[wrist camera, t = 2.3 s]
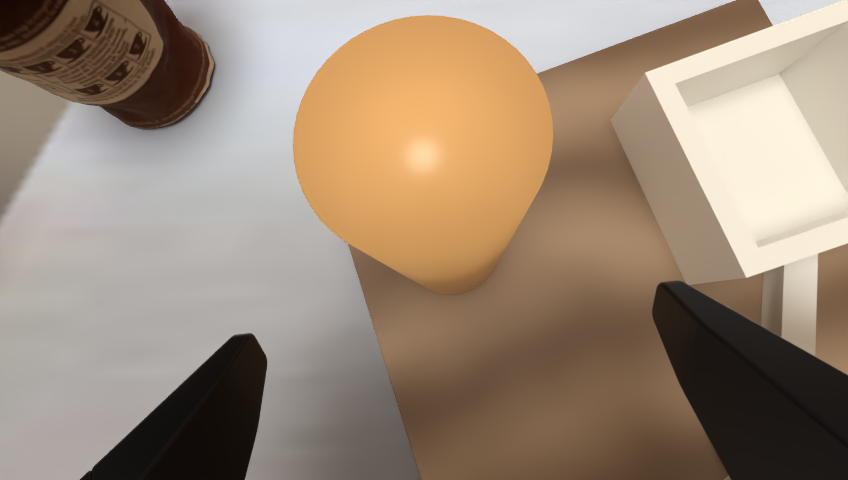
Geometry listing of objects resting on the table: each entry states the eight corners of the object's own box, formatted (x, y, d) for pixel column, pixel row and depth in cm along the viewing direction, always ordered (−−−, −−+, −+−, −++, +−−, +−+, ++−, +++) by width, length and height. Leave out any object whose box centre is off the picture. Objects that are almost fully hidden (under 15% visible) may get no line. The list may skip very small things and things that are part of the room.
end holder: (873, 221, 18) (986, 195, 14) (686, 285, 18) (746, 277, 14) (780, 58, 19) (858, -6, 16) (610, 120, 20) (645, 72, 16)
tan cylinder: (514, 275, 19) (596, 208, 7) (419, 308, 19) (333, 300, 7) (479, 184, 20) (496, -20, 8) (389, 217, 20) (265, 67, 8)
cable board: (1061, 574, 16) (1221, 646, 13) (507, 741, 17) (517, 849, 14) (741, 8, 21) (793, -51, 18) (326, 160, 22) (300, 132, 19)
